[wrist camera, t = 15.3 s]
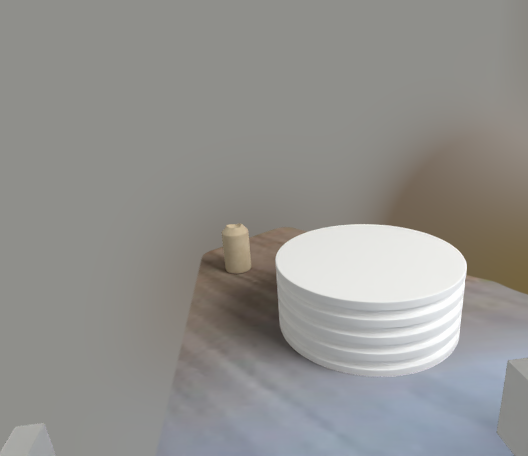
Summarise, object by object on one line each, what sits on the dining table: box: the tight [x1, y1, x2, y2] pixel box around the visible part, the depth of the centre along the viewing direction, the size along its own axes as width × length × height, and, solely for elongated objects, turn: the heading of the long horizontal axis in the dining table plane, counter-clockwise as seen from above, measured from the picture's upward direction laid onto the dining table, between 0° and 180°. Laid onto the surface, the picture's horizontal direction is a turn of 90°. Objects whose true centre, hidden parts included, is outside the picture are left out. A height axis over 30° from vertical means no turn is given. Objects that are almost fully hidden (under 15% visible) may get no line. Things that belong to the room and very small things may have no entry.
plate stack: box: [275, 224, 467, 377], centre depth 65 cm, size 28×28×12 cm
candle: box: [222, 224, 251, 274], centre depth 86 cm, size 6×6×10 cm
